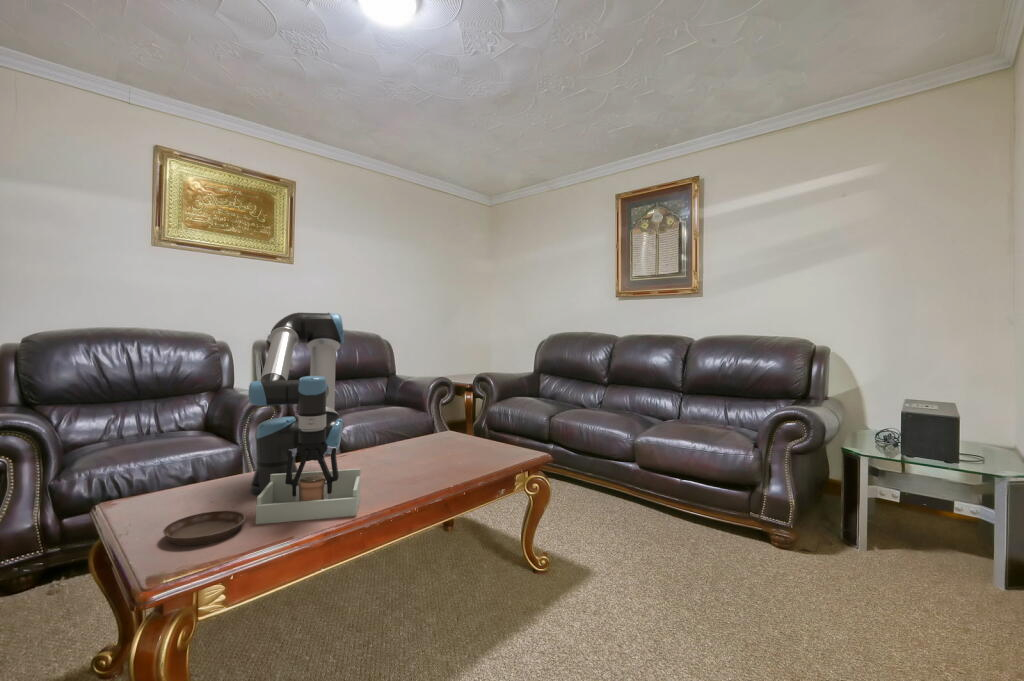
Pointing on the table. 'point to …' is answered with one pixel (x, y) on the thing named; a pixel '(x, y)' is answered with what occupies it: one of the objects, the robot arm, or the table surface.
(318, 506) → the frame
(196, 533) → the plant saucer
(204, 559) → the table surface
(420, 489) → the table surface
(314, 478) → the terracotta pot
